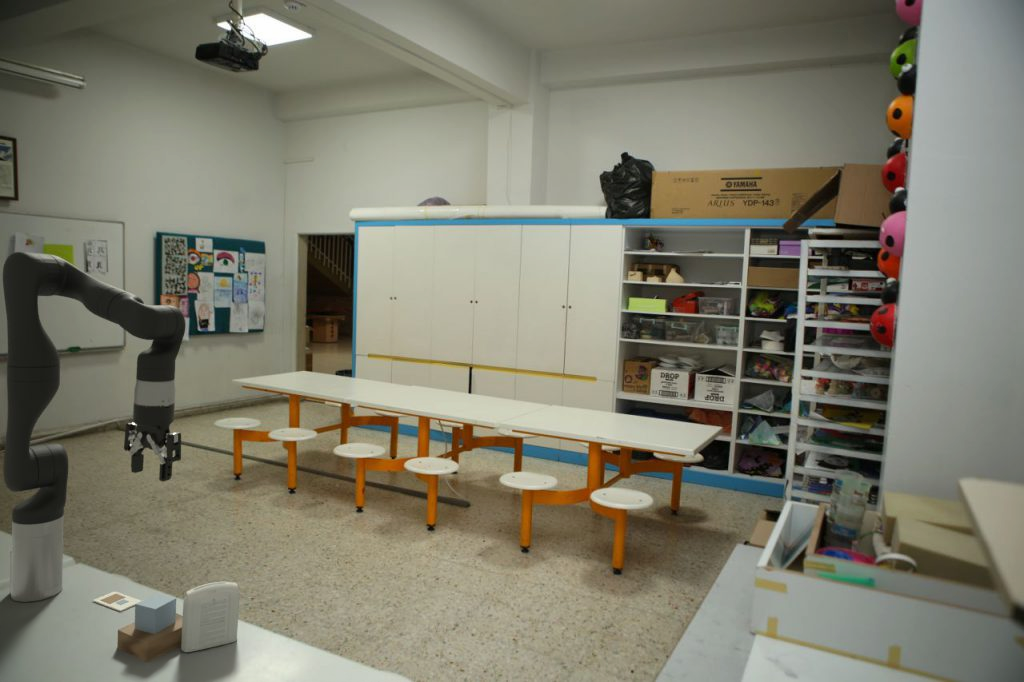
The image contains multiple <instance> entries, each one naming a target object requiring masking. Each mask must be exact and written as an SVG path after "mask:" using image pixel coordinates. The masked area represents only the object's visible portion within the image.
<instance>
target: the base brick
mask: <svg viewBox="0 0 1024 682" xmlns="http://www.w3.org/2000/svg"><path fill="white" fill-rule="evenodd" d="M182 620H183V614H179V613H177V612H176V623H174V624H172V625H170V626H169V627H167V628H165V629H163V630H162V631H160V632H158V633H156V634H152V633H148V632H144V631H140V630H137V629H135V621H134V622H132V623H130V624H128V625H126V626H124V627H121V628H118V629H117V643H116V644H117V647H116V648H117V649H119V650H121V651H124V652H126V653H127V654H130V655H132V656H134V657H135V658H138V659H140V660H142V661H144V662H147V663H149V662H150V661H152V660H154V659H157V658H158V657H160V656H162V655H164V654H166V653H168V652H170V651H172V650H174V649H176V648H178V647H180V646H181V640H182Z"/></svg>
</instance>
